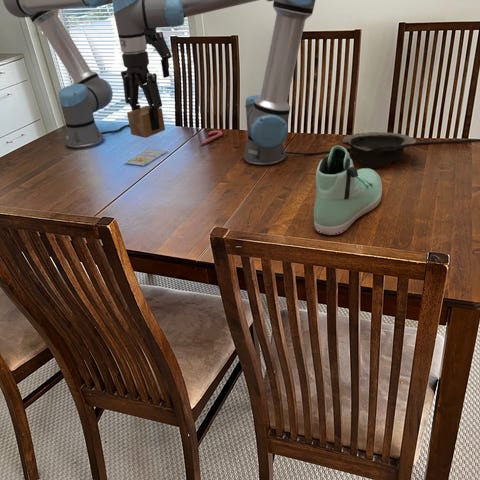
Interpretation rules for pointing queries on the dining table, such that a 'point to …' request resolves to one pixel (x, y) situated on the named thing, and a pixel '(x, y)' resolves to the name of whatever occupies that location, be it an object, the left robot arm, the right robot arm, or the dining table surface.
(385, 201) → the dining table surface
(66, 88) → the left robot arm
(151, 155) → the baking ingredient package
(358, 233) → the dining table surface
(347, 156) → the sneaker
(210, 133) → the candy cane
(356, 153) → the black hat
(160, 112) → the block
